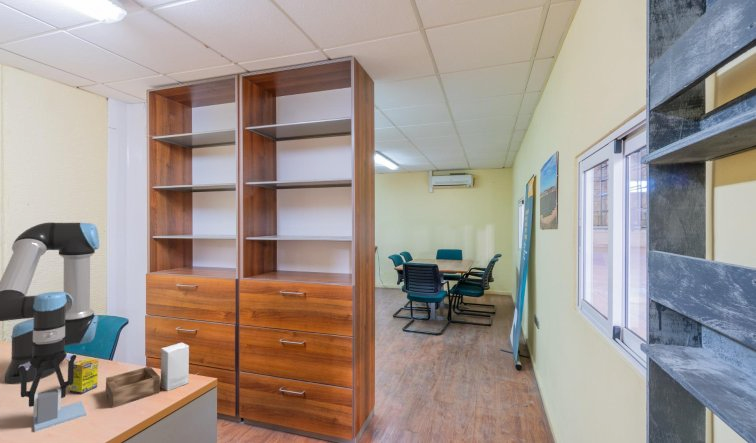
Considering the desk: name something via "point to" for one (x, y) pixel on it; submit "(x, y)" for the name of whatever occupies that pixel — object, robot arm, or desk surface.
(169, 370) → the skincare box
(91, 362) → the supplement box
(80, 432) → the desk surface
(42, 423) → the lid
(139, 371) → the box
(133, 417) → the desk surface
